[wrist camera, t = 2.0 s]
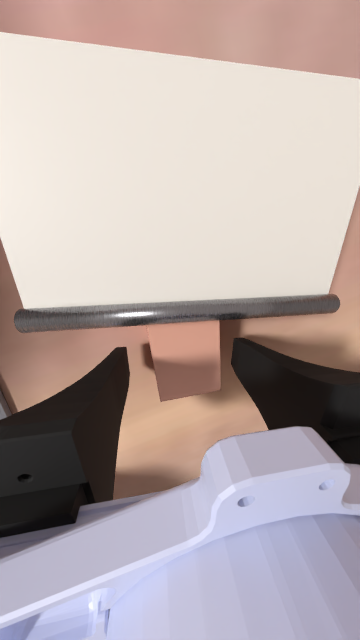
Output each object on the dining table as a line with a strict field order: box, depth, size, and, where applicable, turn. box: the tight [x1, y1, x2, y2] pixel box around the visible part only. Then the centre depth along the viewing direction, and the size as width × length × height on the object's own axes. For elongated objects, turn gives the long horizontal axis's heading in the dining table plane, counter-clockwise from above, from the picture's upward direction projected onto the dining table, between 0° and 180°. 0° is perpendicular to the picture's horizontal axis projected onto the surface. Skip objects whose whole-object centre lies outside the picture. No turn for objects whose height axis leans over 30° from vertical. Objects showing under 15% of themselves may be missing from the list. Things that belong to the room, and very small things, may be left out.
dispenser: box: [0, 32, 360, 333], centre depth 8 cm, size 8×13×5 cm, turn 90°
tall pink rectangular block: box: [146, 320, 221, 402], centre depth 12 cm, size 8×4×3 cm, turn 6°
